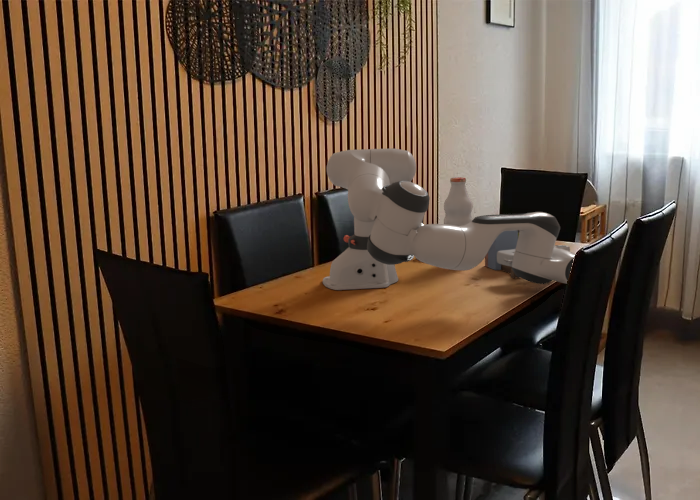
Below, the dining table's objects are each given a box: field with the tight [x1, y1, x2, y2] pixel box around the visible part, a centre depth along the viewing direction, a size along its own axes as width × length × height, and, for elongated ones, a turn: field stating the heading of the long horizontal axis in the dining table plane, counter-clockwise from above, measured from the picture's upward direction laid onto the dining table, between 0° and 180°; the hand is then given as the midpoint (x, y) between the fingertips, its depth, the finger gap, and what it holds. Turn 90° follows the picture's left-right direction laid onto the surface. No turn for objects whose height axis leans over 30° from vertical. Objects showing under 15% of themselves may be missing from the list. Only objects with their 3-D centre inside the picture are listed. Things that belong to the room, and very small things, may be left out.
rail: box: [484, 253, 520, 279], centre depth 216 cm, size 7×18×7 cm, turn 16°
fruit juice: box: [443, 176, 474, 226], centre depth 225 cm, size 9×9×28 cm
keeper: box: [487, 230, 519, 271], centre depth 219 cm, size 8×5×13 cm, turn 106°
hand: (518, 250), depth 211 cm, fingers closed
